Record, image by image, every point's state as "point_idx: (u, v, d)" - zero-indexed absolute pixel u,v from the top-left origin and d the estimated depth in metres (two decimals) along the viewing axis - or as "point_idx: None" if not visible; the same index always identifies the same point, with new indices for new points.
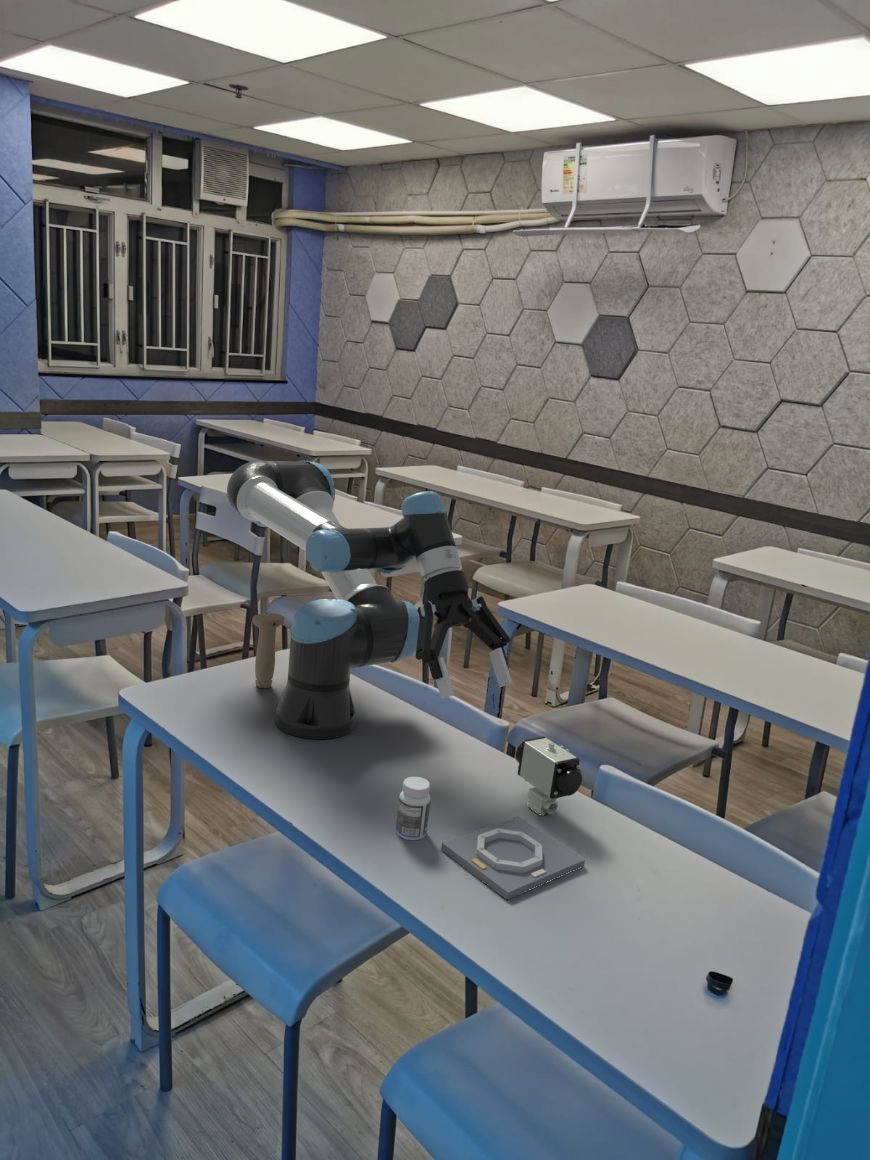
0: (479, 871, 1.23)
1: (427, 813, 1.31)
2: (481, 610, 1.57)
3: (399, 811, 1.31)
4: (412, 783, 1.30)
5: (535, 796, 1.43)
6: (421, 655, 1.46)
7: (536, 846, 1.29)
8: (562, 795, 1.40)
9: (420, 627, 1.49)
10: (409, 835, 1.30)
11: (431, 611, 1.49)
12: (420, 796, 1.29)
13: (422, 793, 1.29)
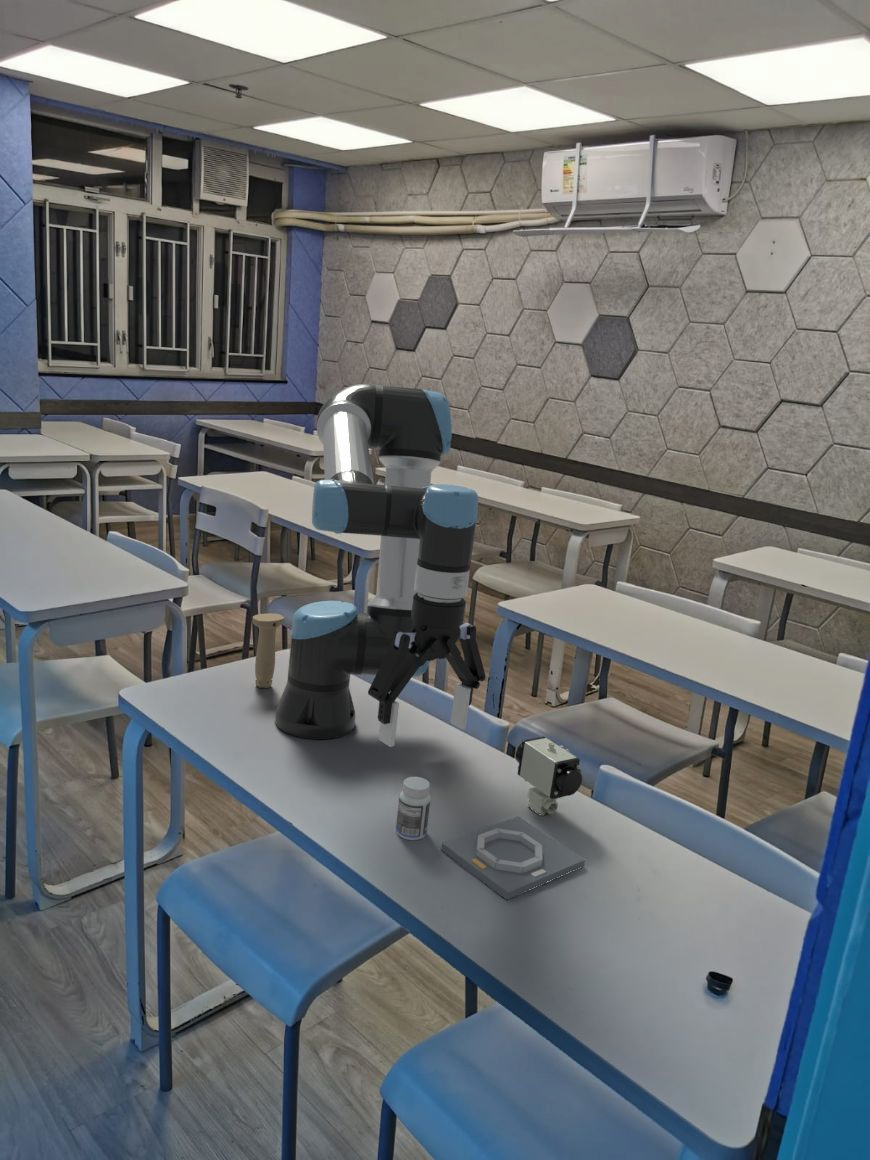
0: (479, 871, 1.23)
1: (427, 813, 1.31)
2: (467, 641, 1.29)
3: (399, 811, 1.31)
4: (412, 783, 1.30)
5: (535, 796, 1.43)
6: (374, 697, 1.20)
7: (536, 846, 1.29)
8: (562, 795, 1.40)
9: (387, 658, 1.21)
10: (409, 835, 1.30)
11: (407, 647, 1.20)
12: (420, 796, 1.29)
13: (422, 793, 1.29)
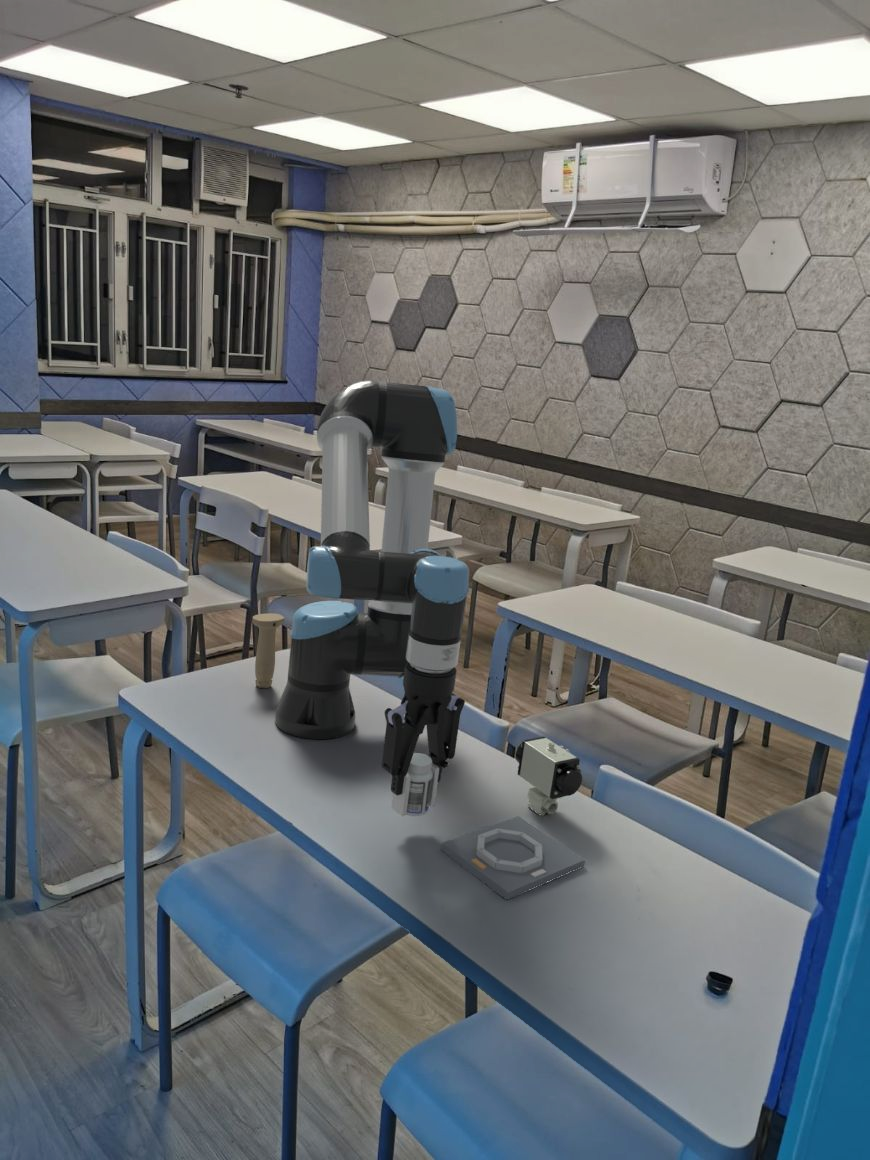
0: (479, 871, 1.23)
1: (429, 789, 1.31)
2: (452, 712, 1.31)
3: None
4: (414, 759, 1.30)
5: (535, 796, 1.43)
6: (388, 771, 1.26)
7: (536, 846, 1.29)
8: (562, 795, 1.40)
9: (387, 736, 1.26)
10: (411, 811, 1.30)
11: (401, 723, 1.24)
12: (422, 772, 1.29)
13: (424, 769, 1.29)
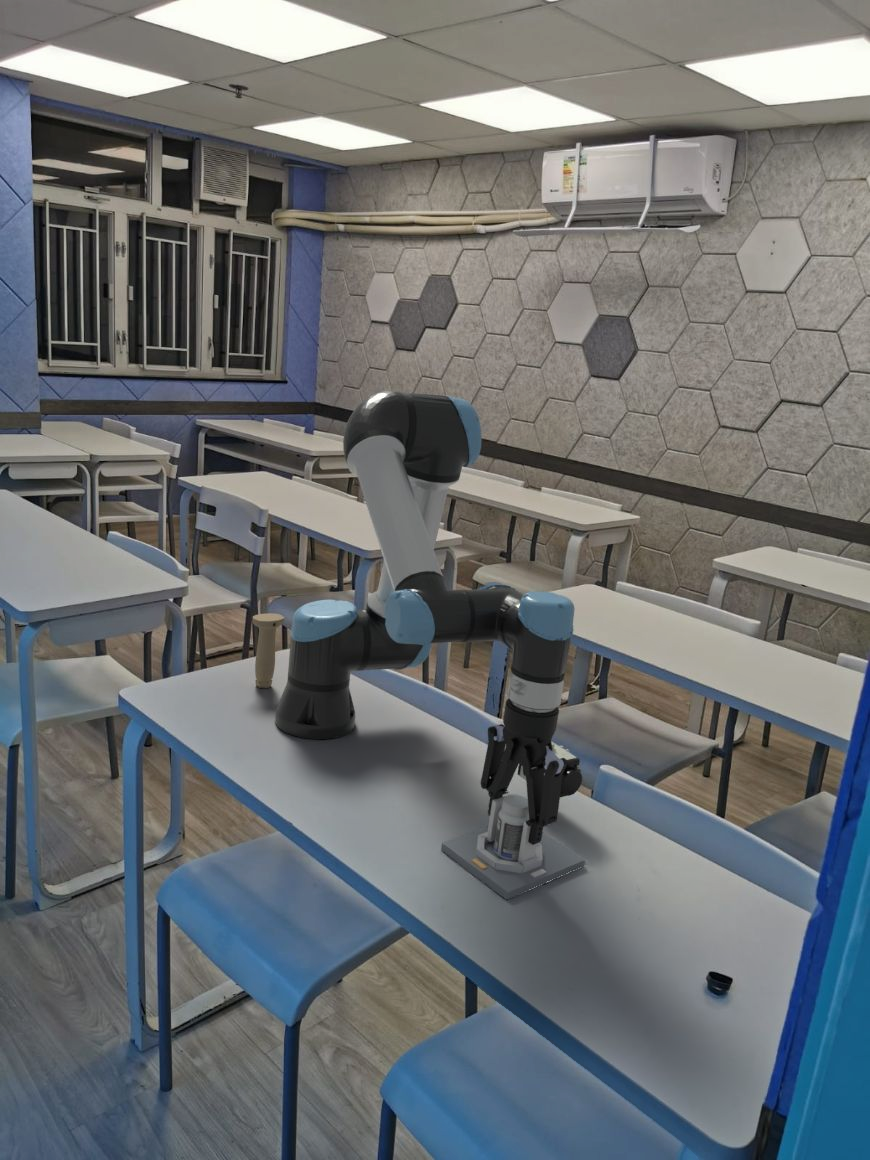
0: (479, 871, 1.23)
1: (507, 834, 1.25)
2: None
3: None
4: (514, 798, 1.27)
5: None
6: None
7: None
8: (562, 795, 1.40)
9: None
10: (494, 844, 1.28)
11: (492, 738, 1.27)
12: (504, 810, 1.26)
13: (504, 807, 1.25)
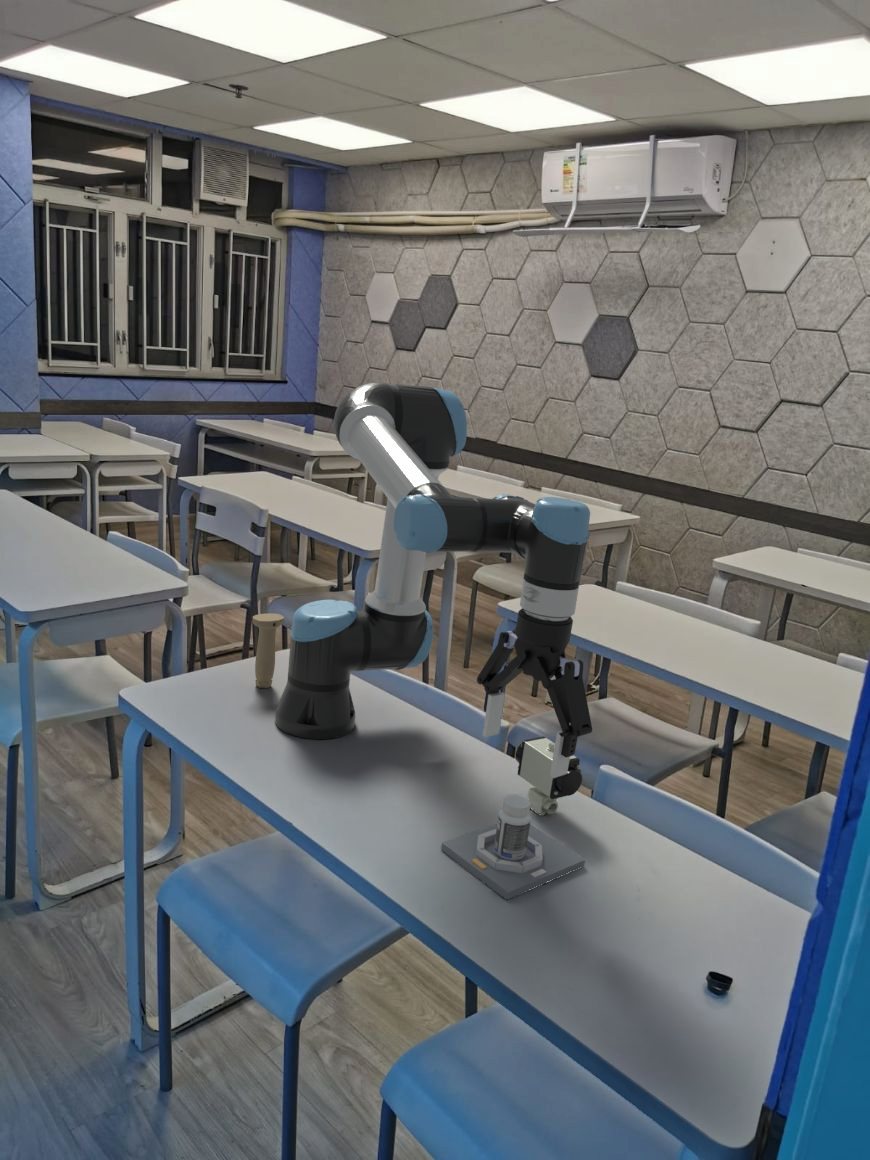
0: (479, 871, 1.23)
1: (507, 834, 1.25)
2: None
3: None
4: (514, 798, 1.27)
5: (535, 796, 1.43)
6: None
7: (536, 846, 1.29)
8: (562, 795, 1.40)
9: None
10: (494, 844, 1.28)
11: (502, 644, 1.24)
12: (504, 810, 1.26)
13: (504, 806, 1.25)
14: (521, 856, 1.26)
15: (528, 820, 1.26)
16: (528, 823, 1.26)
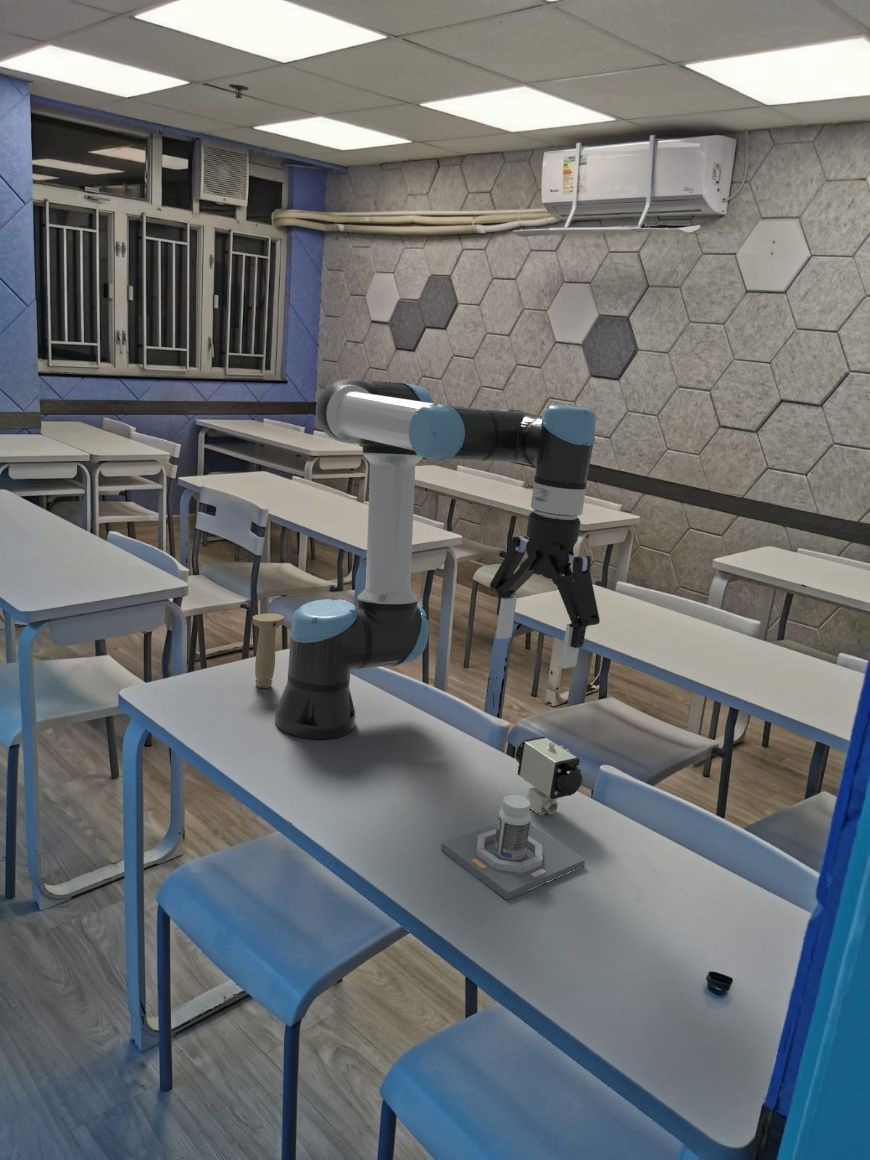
0: (479, 871, 1.23)
1: (507, 834, 1.25)
2: None
3: None
4: (514, 798, 1.27)
5: (535, 796, 1.43)
6: None
7: (536, 846, 1.29)
8: (562, 795, 1.40)
9: None
10: (494, 844, 1.28)
11: (514, 548, 1.32)
12: (504, 810, 1.26)
13: (504, 806, 1.25)
14: (521, 856, 1.26)
15: (528, 820, 1.26)
16: (528, 823, 1.26)
